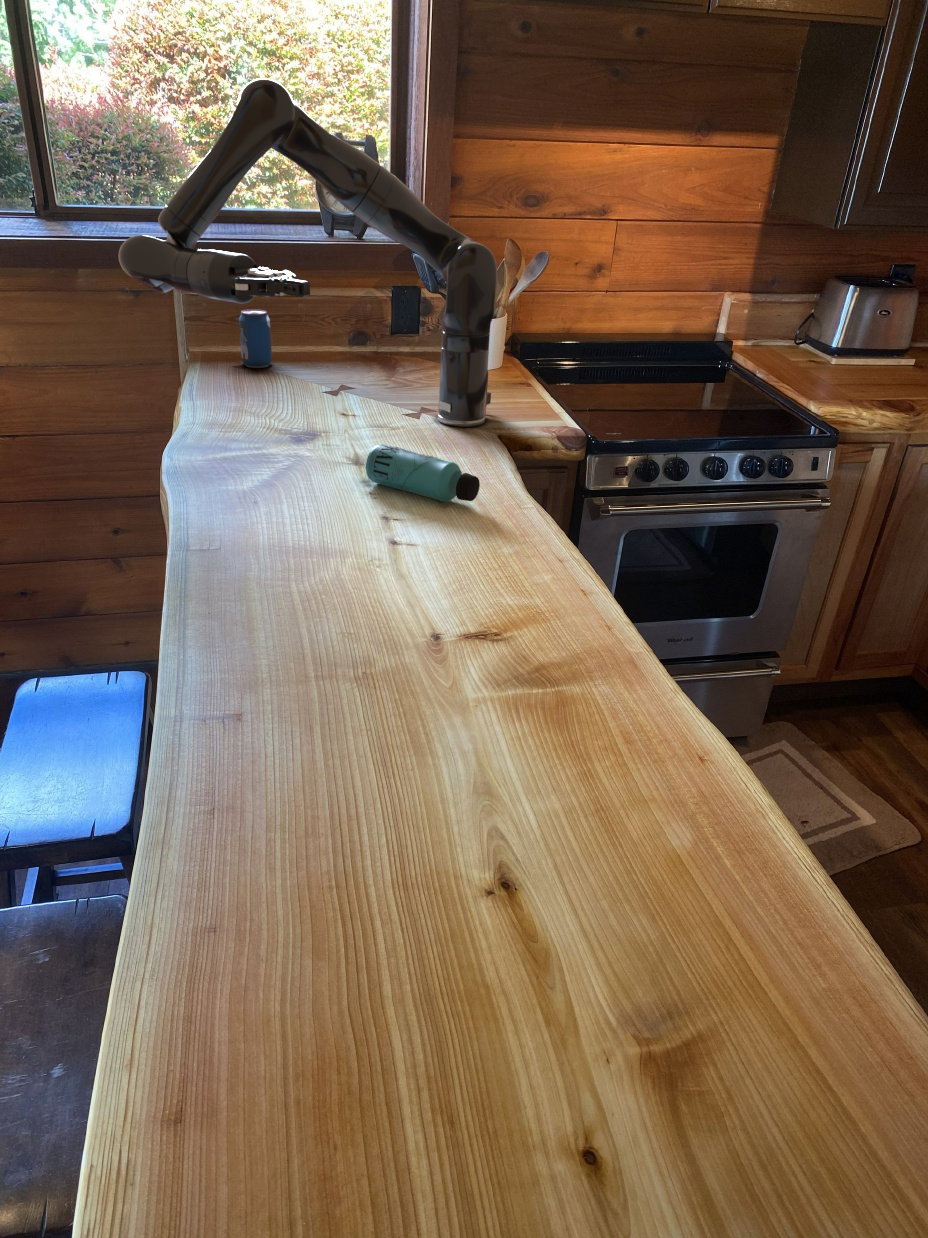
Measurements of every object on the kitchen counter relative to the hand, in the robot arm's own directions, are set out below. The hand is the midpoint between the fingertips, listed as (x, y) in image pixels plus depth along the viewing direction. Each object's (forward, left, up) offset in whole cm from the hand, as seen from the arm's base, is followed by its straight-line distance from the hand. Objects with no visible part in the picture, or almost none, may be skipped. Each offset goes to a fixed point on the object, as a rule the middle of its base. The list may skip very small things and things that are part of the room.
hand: (307, 289), depth 139 cm
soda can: (-46, -53, -28) cm, 76 cm away
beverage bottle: (+1, +12, -25) cm, 28 cm away
